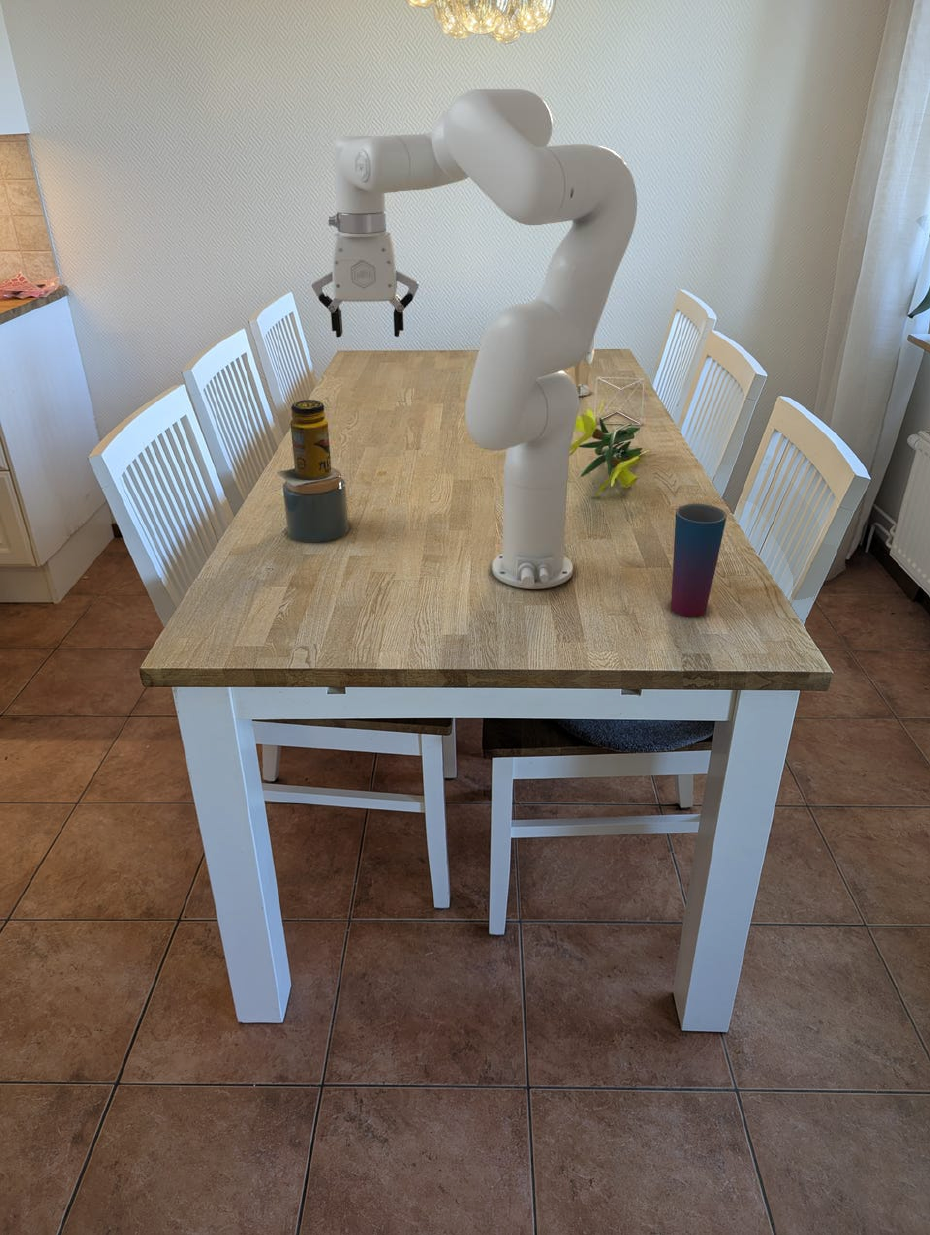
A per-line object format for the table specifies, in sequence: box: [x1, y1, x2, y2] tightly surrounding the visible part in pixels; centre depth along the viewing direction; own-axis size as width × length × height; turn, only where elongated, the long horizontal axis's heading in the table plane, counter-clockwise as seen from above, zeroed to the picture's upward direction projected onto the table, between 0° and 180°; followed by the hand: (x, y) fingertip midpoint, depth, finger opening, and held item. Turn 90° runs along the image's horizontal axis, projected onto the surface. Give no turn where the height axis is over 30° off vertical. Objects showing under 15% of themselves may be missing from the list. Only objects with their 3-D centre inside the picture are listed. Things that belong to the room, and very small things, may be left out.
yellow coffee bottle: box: [275, 399, 342, 486], centre depth 150 cm, size 7×8×12 cm
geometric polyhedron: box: [593, 376, 646, 426], centre depth 208 cm, size 12×11×9 cm
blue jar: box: [282, 466, 349, 544], centre depth 155 cm, size 10×10×10 cm
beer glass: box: [566, 337, 595, 397], centre depth 226 cm, size 7×7×15 cm
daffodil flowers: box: [570, 397, 654, 498], centre depth 174 cm, size 17×15×35 cm
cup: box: [670, 503, 728, 618], centre depth 129 cm, size 7×7×15 cm
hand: (368, 335), depth 153 cm, fingers open, 9 cm apart
